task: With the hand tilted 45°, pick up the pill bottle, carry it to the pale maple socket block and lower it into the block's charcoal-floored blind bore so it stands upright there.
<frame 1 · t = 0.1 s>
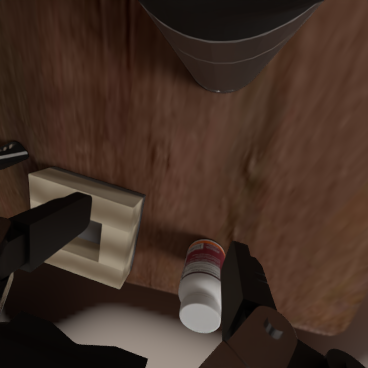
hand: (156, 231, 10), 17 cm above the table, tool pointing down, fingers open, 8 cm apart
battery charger: (12, 152, 32), on the table
pill bottle: (206, 252, 31), on the table
socket block: (95, 221, 33), on the table
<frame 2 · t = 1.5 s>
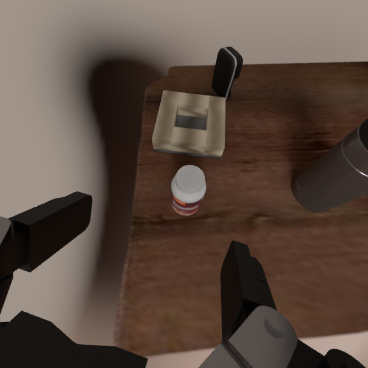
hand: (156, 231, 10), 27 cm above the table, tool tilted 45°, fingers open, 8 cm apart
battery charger: (221, 93, 56), on the table
pill bottle: (185, 202, 40), on the table
socket block: (190, 129, 49), on the table
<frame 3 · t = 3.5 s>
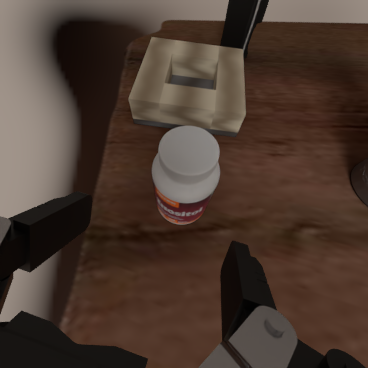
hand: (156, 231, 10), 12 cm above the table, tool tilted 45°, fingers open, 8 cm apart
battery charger: (234, 52, 41), on the table
pill bottle: (181, 202, 24), on the table
socket block: (190, 96, 33), on the table
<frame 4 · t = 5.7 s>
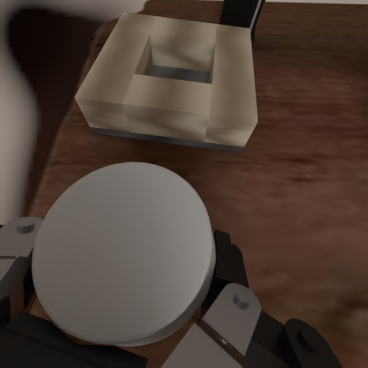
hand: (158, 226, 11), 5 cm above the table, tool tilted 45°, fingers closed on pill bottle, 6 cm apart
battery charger: (237, 38, 31), on the table
pill bottle: (155, 264, 15), on the table, touching gripper
socket block: (177, 94, 24), on the table
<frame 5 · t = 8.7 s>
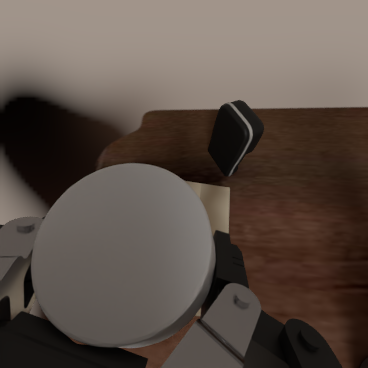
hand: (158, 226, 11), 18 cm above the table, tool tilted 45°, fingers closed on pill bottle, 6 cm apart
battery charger: (223, 160, 35), on the table
pill bottle: (155, 265, 15), point 12 cm above the table, touching gripper
socket block: (166, 240, 28), on the table
when the fingers open (8 cm above the table, at t = 12.1 s): pill bottle drops 1 cm, resting on socket block.
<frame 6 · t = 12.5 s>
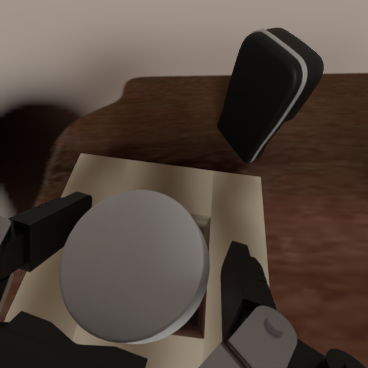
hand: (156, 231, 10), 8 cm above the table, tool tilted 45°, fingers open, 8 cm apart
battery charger: (241, 141, 24), on the table
pill bottle: (157, 269, 16), point 1 cm above the table, touching socket block
socket block: (157, 266, 17), on the table
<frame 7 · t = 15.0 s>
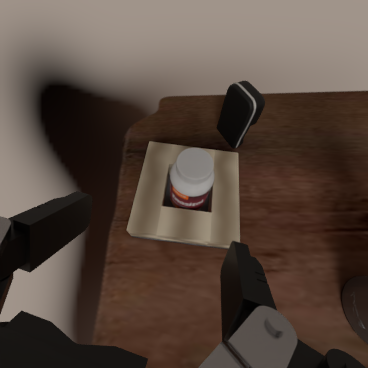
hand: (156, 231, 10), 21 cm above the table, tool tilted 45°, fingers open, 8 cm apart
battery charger: (230, 136, 42), on the table
pill bottle: (187, 197, 33), point 1 cm above the table, touching socket block
socket block: (187, 197, 34), on the table
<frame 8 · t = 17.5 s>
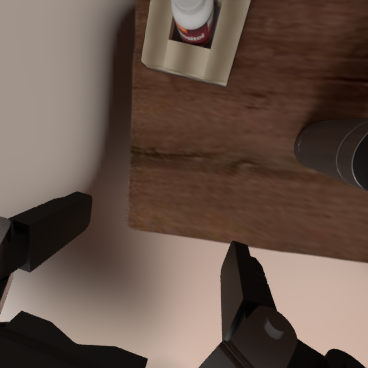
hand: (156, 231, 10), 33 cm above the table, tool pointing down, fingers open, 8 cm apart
pill bottle: (197, 30, 35), point 1 cm above the table, touching socket block
socket block: (197, 31, 35), on the table
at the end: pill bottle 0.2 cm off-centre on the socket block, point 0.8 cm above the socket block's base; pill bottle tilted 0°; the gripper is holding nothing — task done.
